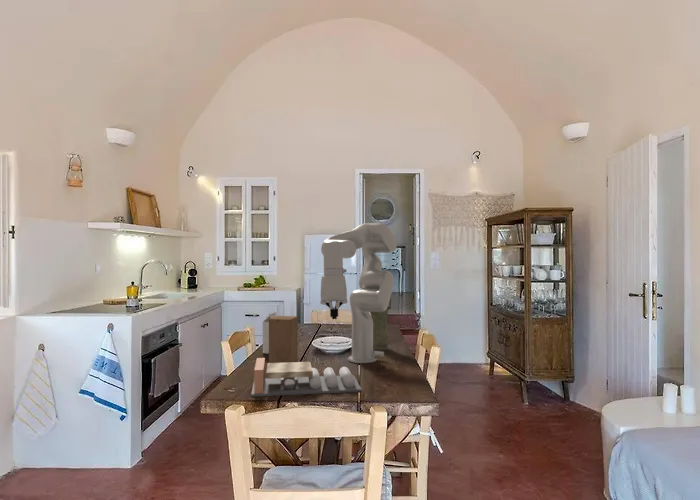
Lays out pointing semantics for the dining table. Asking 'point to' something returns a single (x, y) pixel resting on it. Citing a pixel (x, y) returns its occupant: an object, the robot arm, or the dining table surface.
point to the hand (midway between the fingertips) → (334, 318)
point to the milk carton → (267, 332)
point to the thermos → (380, 329)
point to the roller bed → (304, 382)
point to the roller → (289, 383)
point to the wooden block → (283, 339)
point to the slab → (289, 370)
